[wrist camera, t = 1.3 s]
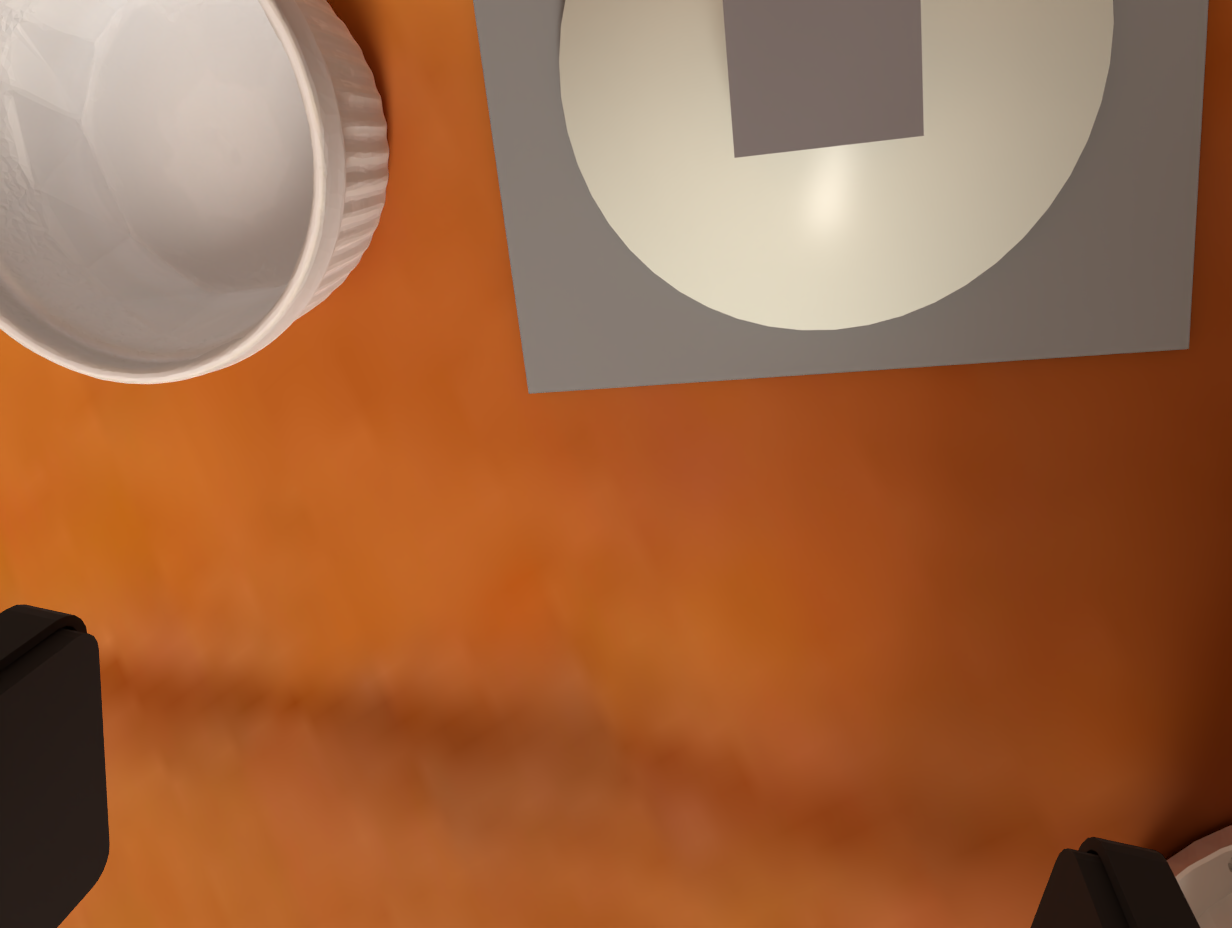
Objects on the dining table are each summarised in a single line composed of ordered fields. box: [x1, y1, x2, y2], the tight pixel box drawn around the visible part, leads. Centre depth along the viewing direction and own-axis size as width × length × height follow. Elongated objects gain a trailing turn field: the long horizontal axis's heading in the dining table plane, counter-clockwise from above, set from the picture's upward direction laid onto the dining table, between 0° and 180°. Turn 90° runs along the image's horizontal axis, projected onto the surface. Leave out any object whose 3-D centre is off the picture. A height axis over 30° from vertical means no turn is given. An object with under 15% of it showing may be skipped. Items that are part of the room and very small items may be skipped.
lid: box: [559, 0, 1114, 330], centre depth 26 cm, size 15×15×6 cm
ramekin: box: [0, 0, 389, 384], centre depth 30 cm, size 13×13×7 cm
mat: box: [473, 0, 1209, 393], centre depth 29 cm, size 20×18×1 cm
